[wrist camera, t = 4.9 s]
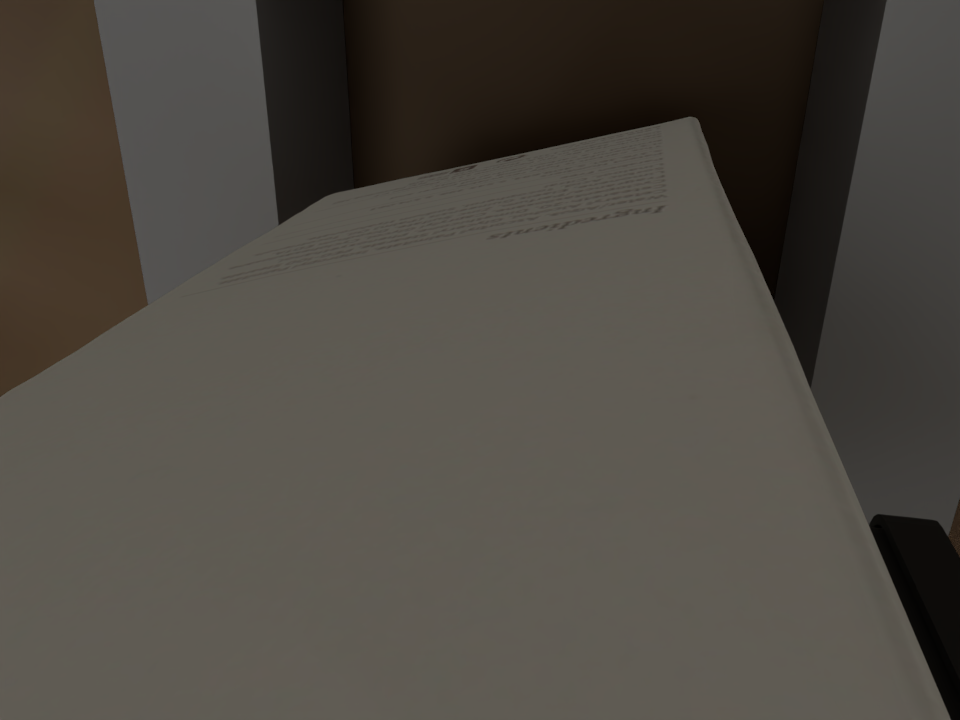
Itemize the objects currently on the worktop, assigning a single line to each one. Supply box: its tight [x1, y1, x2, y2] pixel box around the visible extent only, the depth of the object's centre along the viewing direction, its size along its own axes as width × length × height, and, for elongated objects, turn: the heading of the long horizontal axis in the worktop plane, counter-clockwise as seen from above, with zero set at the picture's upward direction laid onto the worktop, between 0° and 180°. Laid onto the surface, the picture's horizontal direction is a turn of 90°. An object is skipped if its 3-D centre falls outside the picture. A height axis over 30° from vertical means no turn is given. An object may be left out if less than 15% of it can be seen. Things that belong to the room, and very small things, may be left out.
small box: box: [0, 117, 951, 720], centre depth 9 cm, size 8×6×13 cm
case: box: [94, 0, 960, 536], centre depth 21 cm, size 16×34×4 cm, turn 0°
